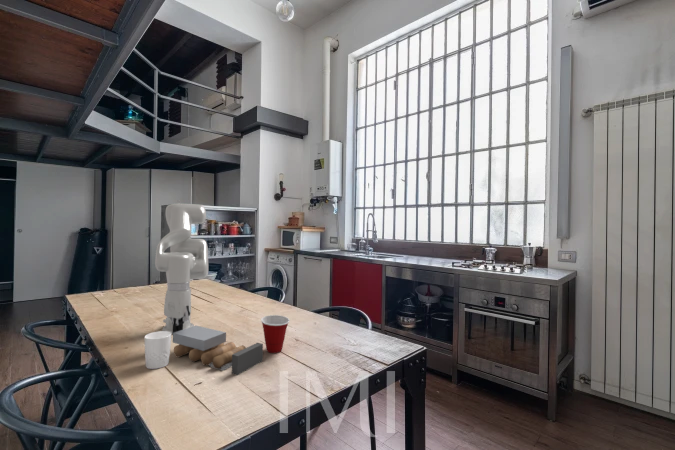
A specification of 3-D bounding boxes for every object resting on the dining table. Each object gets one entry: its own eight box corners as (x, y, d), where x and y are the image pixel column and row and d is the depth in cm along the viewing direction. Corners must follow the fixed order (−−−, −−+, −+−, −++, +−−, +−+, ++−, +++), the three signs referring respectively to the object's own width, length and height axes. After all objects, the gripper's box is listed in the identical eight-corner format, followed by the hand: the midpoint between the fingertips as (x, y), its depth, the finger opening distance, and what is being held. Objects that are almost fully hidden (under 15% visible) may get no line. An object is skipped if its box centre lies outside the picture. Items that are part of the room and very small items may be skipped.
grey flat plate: (209, 366, 107) (209, 363, 107) (235, 354, 118) (235, 351, 118) (222, 370, 104) (222, 367, 104) (248, 357, 115) (248, 354, 115)
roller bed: (173, 355, 115) (173, 344, 115) (201, 345, 126) (201, 334, 126) (209, 366, 107) (209, 354, 107) (235, 354, 117) (236, 343, 118)
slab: (172, 342, 117) (172, 332, 117) (195, 334, 126) (196, 325, 126) (203, 350, 109) (203, 340, 109) (225, 341, 118) (226, 332, 118)
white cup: (151, 372, 102) (152, 340, 102) (138, 366, 106) (139, 335, 106) (175, 363, 109) (176, 333, 109) (162, 358, 113) (163, 329, 113)
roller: (214, 354, 106) (221, 360, 104) (241, 343, 116) (248, 348, 115) (211, 364, 106) (218, 370, 105) (238, 351, 117) (245, 357, 115)
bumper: (231, 373, 102) (232, 354, 102) (257, 359, 113) (257, 342, 113) (237, 375, 101) (237, 356, 101) (262, 361, 112) (262, 343, 112)
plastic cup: (274, 358, 114) (274, 324, 114) (254, 351, 121) (254, 319, 121) (295, 349, 123) (295, 318, 123) (275, 342, 129) (276, 313, 130)
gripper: (157, 286, 123) (155, 334, 123) (183, 290, 116) (182, 341, 116) (174, 283, 130) (173, 329, 129) (200, 287, 123) (199, 335, 123)
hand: (177, 334), depth 123 cm, fingers closed
